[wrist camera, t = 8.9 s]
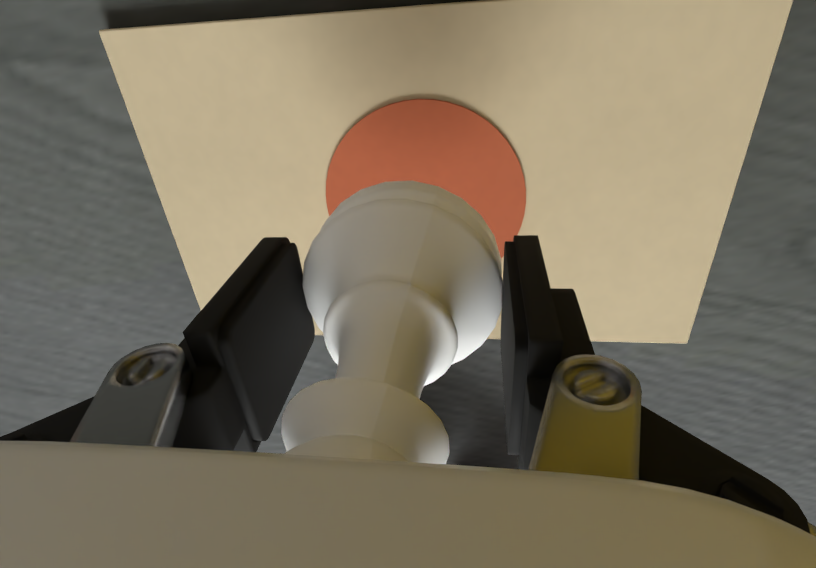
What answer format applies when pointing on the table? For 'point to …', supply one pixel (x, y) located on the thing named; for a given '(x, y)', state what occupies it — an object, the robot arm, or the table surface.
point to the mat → (466, 132)
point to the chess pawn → (393, 319)
